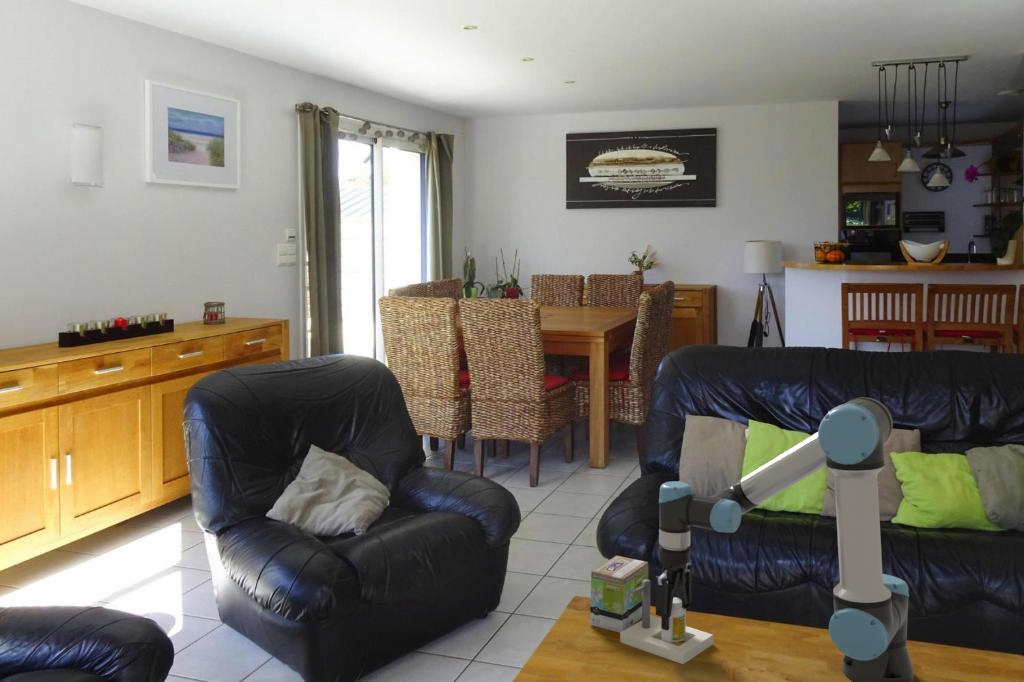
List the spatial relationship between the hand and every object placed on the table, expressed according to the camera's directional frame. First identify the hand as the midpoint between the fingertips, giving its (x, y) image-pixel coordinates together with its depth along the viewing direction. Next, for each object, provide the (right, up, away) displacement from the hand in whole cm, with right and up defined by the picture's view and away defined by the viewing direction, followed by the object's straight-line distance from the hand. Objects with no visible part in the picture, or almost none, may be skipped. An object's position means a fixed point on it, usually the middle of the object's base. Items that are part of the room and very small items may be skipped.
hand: (673, 636), depth 217 cm
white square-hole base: (-2, -2, +2) cm, 3 cm away
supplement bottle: (0, -1, 0) cm, 1 cm away
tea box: (-11, -1, +16) cm, 20 cm away
